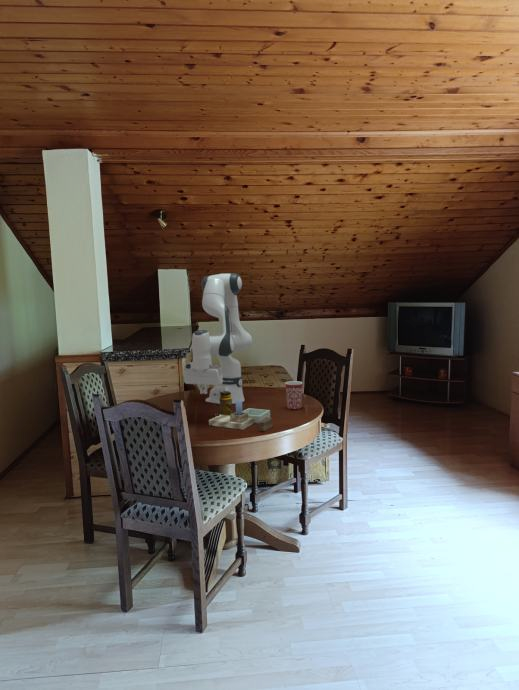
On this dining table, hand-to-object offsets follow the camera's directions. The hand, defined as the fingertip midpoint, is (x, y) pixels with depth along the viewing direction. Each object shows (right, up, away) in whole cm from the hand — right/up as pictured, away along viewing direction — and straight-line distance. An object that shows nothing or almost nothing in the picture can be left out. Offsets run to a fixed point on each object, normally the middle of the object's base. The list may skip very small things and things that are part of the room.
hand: (203, 393), depth 218 cm
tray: (+24, -13, +3) cm, 27 cm away
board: (+13, -14, -5) cm, 20 cm away
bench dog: (+29, -14, -13) cm, 35 cm away
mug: (+45, -10, +24) cm, 52 cm away
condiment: (+9, -12, +11) cm, 19 cm away
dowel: (+17, -12, -7) cm, 22 cm away
